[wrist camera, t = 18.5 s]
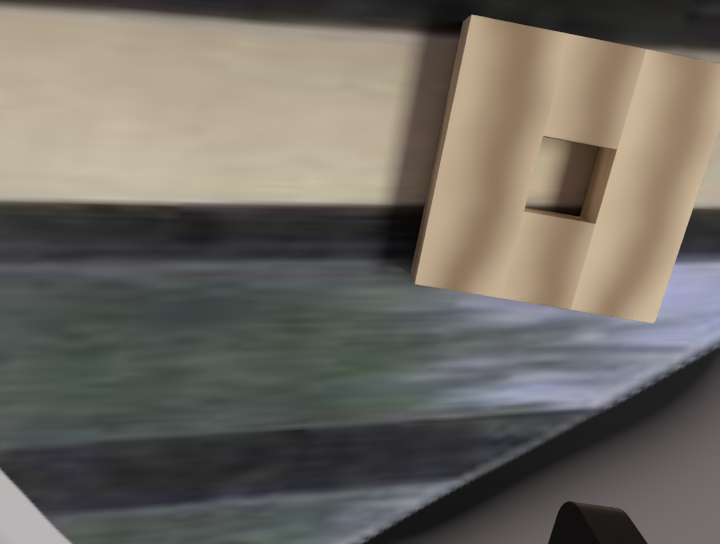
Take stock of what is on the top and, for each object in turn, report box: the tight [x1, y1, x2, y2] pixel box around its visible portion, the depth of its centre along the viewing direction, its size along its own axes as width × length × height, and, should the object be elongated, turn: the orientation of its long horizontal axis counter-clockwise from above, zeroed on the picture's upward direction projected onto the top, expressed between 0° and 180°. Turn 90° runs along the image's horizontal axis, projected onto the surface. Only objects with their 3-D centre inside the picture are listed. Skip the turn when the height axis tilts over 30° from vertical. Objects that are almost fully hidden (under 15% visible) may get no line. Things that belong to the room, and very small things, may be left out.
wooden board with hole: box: [411, 15, 720, 323], centre depth 36 cm, size 16×16×2 cm
